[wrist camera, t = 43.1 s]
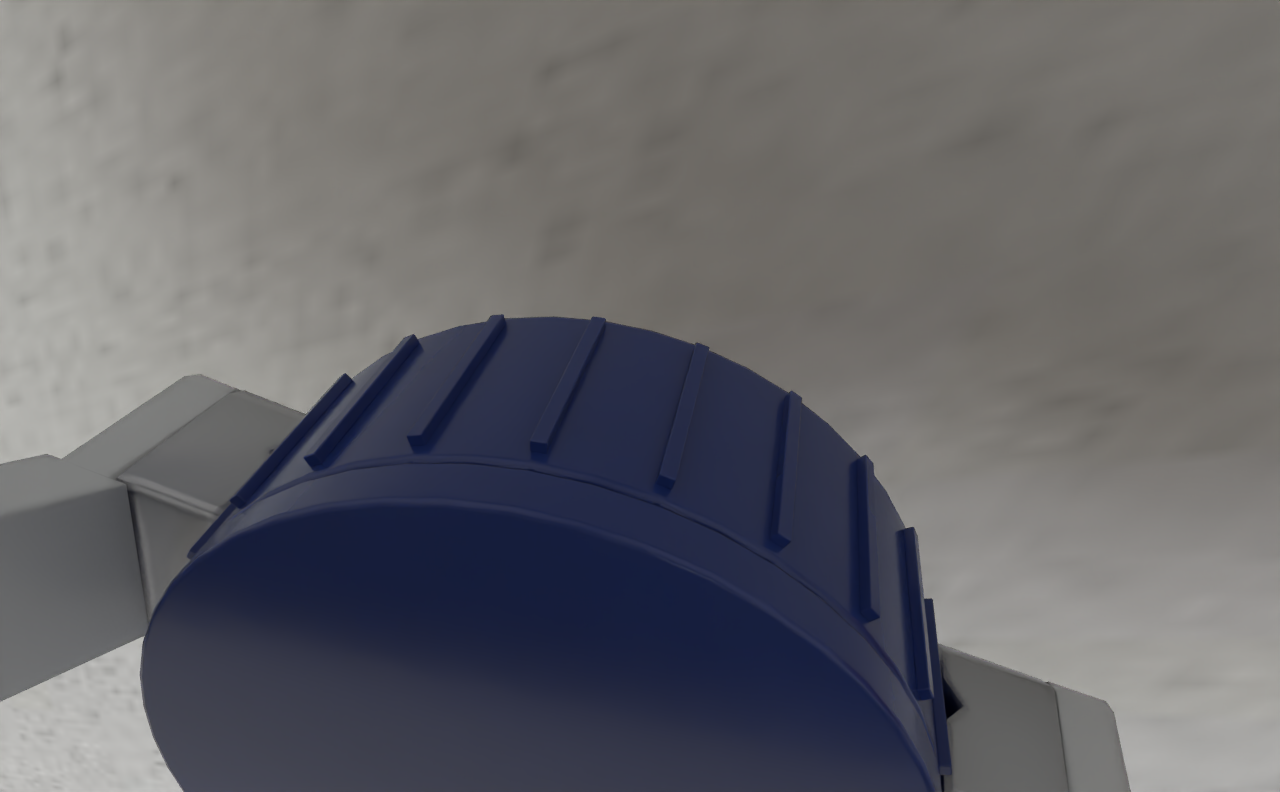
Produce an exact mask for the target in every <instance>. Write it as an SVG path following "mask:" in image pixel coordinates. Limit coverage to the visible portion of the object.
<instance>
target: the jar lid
mask: <svg viewBox="0 0 1280 792" xmlns="http://www.w3.org/2000/svg"><path fill="white" fill-rule="evenodd" d="M229 501H230V502H231V504H230V505H229V506H228V507H227V508H226V509H225V510H224V512H223V513H222V514H221V515H220V516H219V517H218V518H217V519H216V520H215V522H214V523H213V524H212V525H211V526H210V527H209V528H208V529H207V531H206V532H205V533H204V534H203V535H202V536H201V537H200V538H199V539H198V541H197V542H196V543H195V544H194V545H193V546H192V547H191V548H190V550H189V552H188V554H187V556H186V557H187V558H188V559H190V560H189V562H188V563H187V564H186V565H185V566H184V567H183V568H182V569H181V571H180V572H179V573H178V574H177V575H176V576H175V577H174V579H173V580H172V581H171V583H170V584H169V586H168V587H167V589H166V591H165V592H164V594H163V595H162V597H161V599H160V600H159V602H158V603H157V605H156V606H155V608H154V611H153V614H152V617H151V620H150V623H149V625H148V628H147V631H146V634H145V637H144V641H143V646H142V657H141V668H140V680H141V688H142V697H143V705H144V709H145V712H146V716H147V719H148V722H149V725H150V729H151V732H152V735H153V738H154V740H155V742H156V744H157V746H158V748H159V750H160V752H161V754H162V757H163V759H164V761H165V763H166V765H167V767H168V769H169V770H170V772H171V773H172V775H173V776H174V778H175V779H176V781H177V782H178V784H179V786H180V787H181V789H182V790H183V792H942V790H941V777H940V775H952V764H951V755H950V746H949V737H948V729H947V720H946V711H945V703H944V694H943V685H942V676H941V668H940V659H939V650H938V642H937V633H936V624H935V615H934V607H933V600H932V599H924V594H923V584H922V574H921V565H920V555H919V545H918V536H917V534H916V531H915V529H914V527H910V528H905V526H904V524H903V522H902V520H901V518H900V516H899V514H898V512H897V511H896V509H895V507H894V505H893V503H892V501H891V499H890V497H889V496H888V494H887V492H886V490H885V489H884V488H883V486H882V485H881V484H880V482H879V481H878V480H877V478H876V477H875V476H874V465H873V462H872V461H871V460H870V459H869V458H868V456H867V455H864V456H862V457H860V456H859V455H858V454H857V453H856V452H855V451H854V450H853V449H852V448H851V447H850V446H849V445H848V444H847V443H846V442H845V440H844V439H843V438H842V437H841V436H840V435H839V434H838V433H837V432H836V431H835V430H834V429H833V428H832V427H831V426H830V425H829V424H828V423H827V422H825V421H824V420H823V419H822V418H820V417H819V416H818V415H817V414H815V413H814V412H813V411H811V410H810V409H809V408H808V407H806V406H805V405H804V404H802V398H801V397H800V396H799V395H797V394H796V393H794V392H793V391H790V392H789V393H788V392H786V391H785V390H783V389H782V388H780V387H778V386H777V385H775V384H773V383H772V382H770V381H768V380H767V379H765V378H763V377H762V376H760V375H758V374H757V373H755V372H753V371H752V370H750V369H748V368H747V367H745V366H742V365H740V364H738V363H736V362H734V361H731V360H729V359H727V358H725V357H723V356H720V355H718V354H716V353H714V352H712V351H709V347H708V346H705V345H703V344H700V343H696V344H695V345H694V344H691V343H688V342H685V341H682V340H679V339H676V338H673V337H670V336H667V335H664V334H661V333H657V332H654V331H651V330H646V329H641V328H636V327H631V326H626V325H621V324H616V323H611V322H606V319H605V318H601V317H594V316H593V317H592V318H591V320H588V319H576V318H565V317H528V318H504V315H503V314H501V315H492V316H490V318H489V319H488V321H487V322H481V323H475V324H469V325H463V326H458V327H455V328H452V329H449V330H446V331H442V332H439V333H436V334H433V335H430V336H426V337H423V338H420V339H417V338H416V336H415V335H414V334H412V335H410V336H407V337H405V338H404V339H403V340H402V341H401V342H400V343H399V345H398V346H397V347H396V348H395V349H394V350H393V352H391V353H389V354H387V355H385V356H383V357H381V358H380V359H378V360H377V361H376V362H374V363H373V364H371V365H370V366H369V367H367V368H366V369H364V370H363V371H362V372H360V373H359V374H357V375H356V376H355V377H353V378H352V379H351V378H350V377H349V376H348V375H347V374H346V373H344V374H343V375H342V376H341V377H339V378H338V379H337V380H336V382H335V383H334V384H333V385H332V386H331V387H330V388H329V389H328V390H327V392H326V393H325V394H324V395H323V396H322V397H321V398H320V399H319V400H318V402H317V403H316V404H315V405H314V406H313V407H312V408H311V409H310V410H309V412H308V413H307V414H306V415H305V416H304V417H303V418H302V419H301V420H300V422H299V423H298V424H297V425H296V426H295V427H294V428H293V429H292V430H291V431H290V433H289V434H288V435H287V436H286V437H285V438H284V439H283V440H282V441H281V443H280V444H279V445H278V446H277V447H276V448H275V449H274V450H273V451H272V453H271V454H270V455H269V456H268V457H267V458H266V459H265V460H264V461H263V463H262V464H261V465H260V466H259V467H258V468H257V469H256V470H255V471H254V473H253V474H252V475H251V476H250V477H249V478H248V479H247V480H246V481H245V482H244V484H243V485H242V486H241V487H240V488H239V489H238V490H237V491H236V492H235V494H234V495H233V496H232V497H231V498H230V499H229Z"/></svg>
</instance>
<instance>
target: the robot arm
mask: <svg viewBox="0 0 1280 792" xmlns="http://www.w3.org/2000/svg"><path fill="white" fill-rule="evenodd" d="M305 415H306V414H304V413H301V412H299V411H296V410H294V409H291V408H288V407H286V406H283V405H281V404H278V403H276V402H273V401H270V400H268V399H265V398H263V397H260V396H258V395H255V394H252V393H250V392H247V391H245V390H244V391H241V390H239V389H236V388H234V387H231V386H229V385H226V384H224V383H221V382H219V381H216V380H214V379H211V378H209V377H206V376H204V375H201V374H200V375H192V376H185V377H183V378H181V379H180V380H178V381H177V382H175V383H174V384H172V385H171V386H169V387H168V388H166V389H165V390H163V391H162V392H160V393H159V394H157V395H156V396H154V397H153V398H151V399H150V400H148V401H147V402H145V403H144V404H142V405H141V406H139V407H138V408H137V409H135V410H134V411H132V412H131V413H129V414H128V415H126V416H125V417H123V418H122V419H120V420H119V421H117V422H116V423H114V424H113V425H111V426H110V427H108V428H107V429H105V430H104V431H102V432H101V433H99V434H98V435H96V436H95V437H93V438H92V439H91V440H89V441H88V442H86V443H85V444H83V445H82V446H80V447H79V448H77V449H76V450H74V451H73V452H71V453H70V454H68V455H67V456H65V457H64V458H62V459H60V458H57V457H54V456H51V455H48V454H44V455H40V456H35V457H31V458H26V459H21V460H17V461H12V462H8V463H3V464H0V702H1V701H3V700H5V699H7V698H9V697H12V696H14V695H16V694H18V693H20V692H22V691H25V690H27V689H29V688H31V687H33V686H36V685H38V684H40V683H42V682H44V681H46V680H49V679H51V678H53V677H55V676H57V675H59V674H62V673H64V672H66V671H68V670H70V669H73V668H75V667H77V666H79V665H81V664H83V663H86V662H88V661H90V660H92V659H94V658H96V657H99V656H101V655H103V654H105V653H107V652H110V651H112V650H114V649H116V648H118V647H120V646H123V645H125V644H127V643H129V642H131V641H134V640H136V639H138V638H140V637H142V636H144V635H145V634H146V631H147V628H148V625H149V623H150V620H151V617H152V614H153V611H154V608H155V606H156V605H157V603H158V602H159V600H160V599H161V597H162V595H163V594H164V592H165V591H166V589H167V587H168V586H169V584H170V583H171V581H172V580H173V579H174V577H175V576H176V575H177V574H178V573H179V572H180V571H181V569H182V568H183V567H184V566H185V565H186V564H187V563H188V562H189V560H190V559H188V558H187V557H186V556H187V554H188V552H189V550H190V548H191V547H192V546H193V545H194V544H195V543H196V542H197V541H198V539H199V538H200V537H201V536H202V535H203V534H204V533H205V532H206V531H207V529H208V528H209V527H210V526H211V525H212V524H213V523H214V522H215V520H216V519H217V518H218V517H219V516H220V515H221V514H222V513H223V512H224V510H225V509H226V508H227V507H228V506H229V505H230V504H231V502H230V501H229V499H230V498H231V497H232V496H233V495H234V494H235V492H236V491H237V490H238V489H239V488H240V487H241V486H242V485H243V484H244V482H245V481H246V480H247V479H248V478H249V477H250V476H251V475H252V474H253V473H254V471H255V470H256V469H257V468H258V467H259V466H260V465H261V464H262V463H263V461H264V460H265V459H266V458H267V457H268V456H269V455H270V454H271V453H272V451H273V450H274V449H275V448H276V447H277V446H278V445H279V444H280V443H281V441H282V440H283V439H284V438H285V437H286V436H287V435H288V434H289V433H290V431H291V430H292V429H293V428H294V427H295V426H296V425H297V424H298V423H299V422H300V420H301V419H302V418H303V417H304V416H305ZM938 650H939V659H940V668H941V676H942V685H943V694H944V703H945V711H946V720H947V729H948V737H949V746H950V755H951V764H952V775H940V777H941V790H942V792H1131V791H1130V786H1129V781H1128V777H1127V772H1126V767H1125V763H1124V758H1123V753H1122V748H1121V744H1120V739H1119V734H1118V730H1117V725H1116V720H1115V716H1114V712H1113V711H1112V709H1111V708H1110V706H1109V705H1108V704H1107V702H1106V701H1104V700H1101V699H1098V698H1095V697H1092V696H1089V695H1086V694H1083V693H1080V692H1077V691H1075V690H1072V689H1069V688H1066V687H1063V686H1060V685H1057V684H1054V683H1051V682H1044V681H1042V680H1041V679H1038V678H1035V677H1032V676H1029V675H1027V674H1024V673H1021V672H1018V671H1015V670H1012V669H1010V668H1007V667H1004V666H1001V665H998V664H995V663H993V662H990V661H987V660H984V659H981V658H978V657H976V656H973V655H970V654H967V653H964V652H961V651H959V650H956V649H953V648H950V647H947V646H944V645H942V644H939V643H938Z"/></svg>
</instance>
